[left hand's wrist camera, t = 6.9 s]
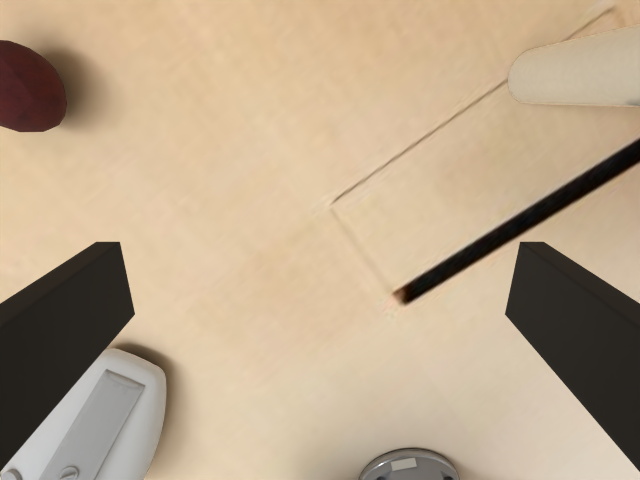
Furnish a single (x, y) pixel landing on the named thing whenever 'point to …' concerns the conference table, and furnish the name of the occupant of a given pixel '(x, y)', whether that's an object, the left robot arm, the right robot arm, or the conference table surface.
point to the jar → (581, 71)
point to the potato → (29, 90)
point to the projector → (99, 425)
